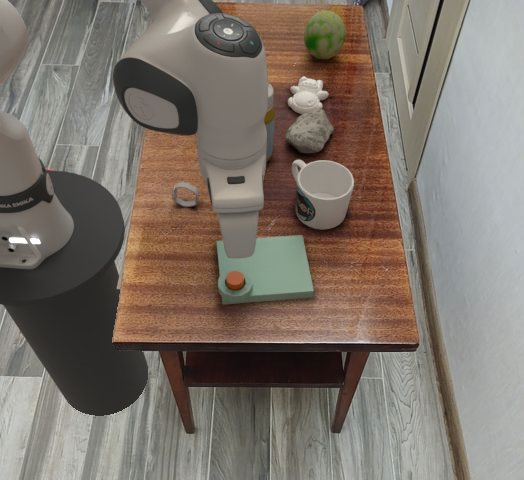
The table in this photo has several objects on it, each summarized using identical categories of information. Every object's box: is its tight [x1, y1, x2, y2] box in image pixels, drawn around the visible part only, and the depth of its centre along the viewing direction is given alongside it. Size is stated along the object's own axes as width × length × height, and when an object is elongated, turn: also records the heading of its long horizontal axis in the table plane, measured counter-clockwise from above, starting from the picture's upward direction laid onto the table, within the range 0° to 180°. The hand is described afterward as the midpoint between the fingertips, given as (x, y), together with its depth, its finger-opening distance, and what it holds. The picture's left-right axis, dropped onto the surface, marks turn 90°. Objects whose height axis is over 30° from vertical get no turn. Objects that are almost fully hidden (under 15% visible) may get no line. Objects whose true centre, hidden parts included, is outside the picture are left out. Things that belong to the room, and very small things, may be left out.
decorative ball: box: [303, 10, 347, 60], centre depth 129 cm, size 10×10×10 cm
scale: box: [216, 234, 315, 305], centre depth 97 cm, size 16×14×4 cm
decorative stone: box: [285, 109, 335, 154], centre depth 116 cm, size 12×11×5 cm
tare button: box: [226, 271, 244, 290], centre depth 93 cm, size 3×3×2 cm
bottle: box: [264, 82, 276, 163], centre depth 108 cm, size 7×7×15 cm
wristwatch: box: [171, 181, 200, 208], centre depth 105 cm, size 3×5×5 cm, turn 81°
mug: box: [291, 159, 355, 231], centre depth 104 cm, size 13×10×8 cm
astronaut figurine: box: [287, 76, 330, 115], centre depth 124 cm, size 9×12×3 cm
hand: (234, 230), depth 82 cm, fingers closed
